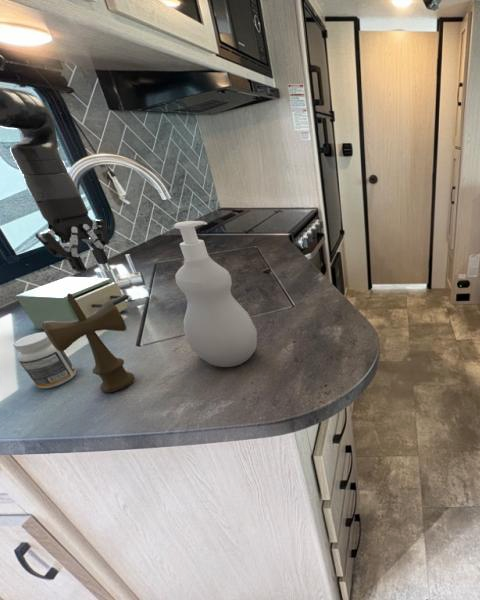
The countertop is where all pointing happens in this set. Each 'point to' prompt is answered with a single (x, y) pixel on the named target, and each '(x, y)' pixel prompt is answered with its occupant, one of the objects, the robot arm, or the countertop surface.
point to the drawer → (101, 298)
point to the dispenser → (56, 299)
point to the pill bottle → (44, 361)
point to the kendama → (93, 341)
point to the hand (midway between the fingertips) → (92, 267)
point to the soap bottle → (212, 306)
